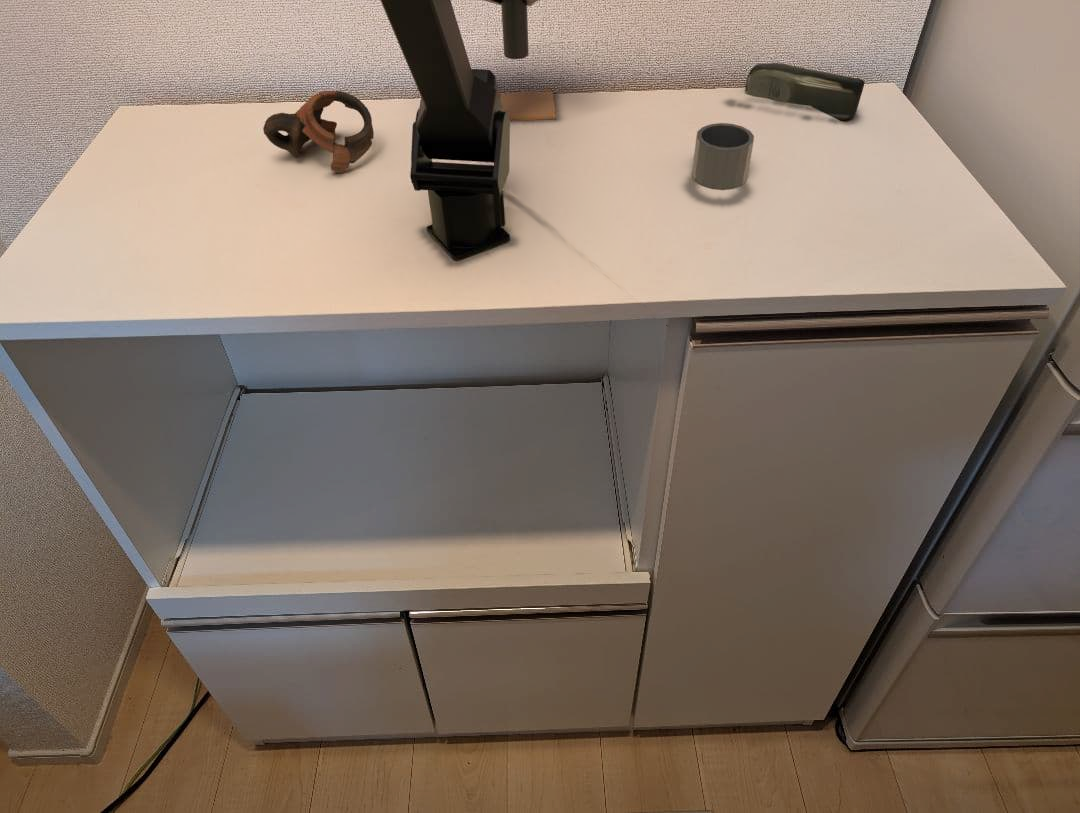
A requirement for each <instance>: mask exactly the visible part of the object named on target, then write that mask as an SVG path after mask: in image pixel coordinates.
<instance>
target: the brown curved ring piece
mask: <svg viewBox="0 0 1080 813" xmlns="http://www.w3.org/2000/svg"><path fill="white" fill-rule="evenodd" d="M334 102H338V103H341V104H343V105H344V107H345V108H348V109H351V110H354V111H357V112H358V113H359V114H360V116H361V118H362V120H363V127H362V128H361V130H360V131H358V132H357V133H355V134H353V135H348V136H346V135H345V136H344V144H341V143H340V144H339V143H338V142H337V143H336V141H335V137H336V128H337V126H338V123H337V122H336V121H332V120H327V119H323V118H322V114H323V111H324V109H325V108H327V107H329V106H331V104H333V103H334ZM262 128H263V129H262V130H263V134H264V135H265V136H266V138H267V140H268V141H269V142H270V143H271V144H273V145H274V146H275V147H277V148H278V149H282V150H285V151H287V152H288V153H289V154H290V155H291V156H292V157H293V158H295V159H298V158H299V157H300V153H301V151H302V149H303V148H304V145H305V144H306V143H308V142H309V141H310V140H311V141H312V142H314V143H315V144H316V145H318V146H319V147H320V148H322V149H323V150H325V151H327V152H328V153H330V154H332V162H331V164H330V169H331V171H332V172H335V173H340V174H343V173H346V171H347V170H348V169H349V168H350V164H351V165H352V164H354V163H356V162H357V161H359V160H360V159H361V158H362V157H363V156H364V155H365V154H366V153H367V152H368V151H370V148H371V147H372V145H373V141H372V140H373V139H374V137H375V136H374V135H375V134H374V132H375V131H374V128H373V119H372V114H371V112H370V110H369V108H368V107H367V106H366V105H365V104H364V103H363V101H361V100H360V99H359V98H358V97H356V96H355V95H353V94H350V93H348V92H345V91H340V90H324V91H319V92H318V93H315V94H313V95H312V96H311V97H310V98H309V99H308V100H307V101H306V102H305V103H304V104H303V105H301V106H300V108H299V109H298V110H296V111H295V113H287V112H286V113H285V112H278V113H274V114H272V115H270V116H268V117H267V119H266V120H265V122H264V124H263V127H262ZM281 132H285V133H287V134H286V135H284V134H283V133H281Z"/></svg>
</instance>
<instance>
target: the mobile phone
mask: <svg viewBox="0 0 1080 813" xmlns="http://www.w3.org/2000/svg"><path fill="white" fill-rule="evenodd" d="M748 72H749V73H748V75H747V77H746V82H745V90H744V94H745V95H747V96H750V97H754V98H762V99H767V100H771V101H774V102H778V103H784V104H792V105H800V106H807V107H811V108H813V109H815V110H817V111H819V112H821V113H823V114H825V115H828V116H830V117H831V118H833V119H835V120H837V121H845V120H846V121H847V120H851V119H853V118H854V117H855V116H856V114H857V112H858V108H859V104H860V102H861V98H862V94H863V90H864V87H865V83H866V82H865V80H864V79H861V78H858V77H852V76H846V75H841V74H838V73H837V74H836V73H832V72H827V71H821V70H816V69H811V68H810V69H809V68H806V67H802V66H796V65H791V64H787V63H781V62H771V63H757V64H755V65H753V66H752V68H751V69H750V71H748Z"/></svg>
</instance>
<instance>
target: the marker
mask: <svg viewBox="0 0 1080 813" xmlns="http://www.w3.org/2000/svg"><path fill="white" fill-rule="evenodd" d="M500 6H501V26H502V27H501V28H502V40H503V41H502V42H503V44H502V46H503V56H504V57H505V58H507V59H510V60H522V59H525V58H527V57H528V56H529V53H530V52H529V48H530V47H529V22H528V21H529V20H528V6H527V5H526V3H525V0H501V5H500Z"/></svg>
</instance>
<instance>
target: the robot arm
mask: <svg viewBox="0 0 1080 813" xmlns="http://www.w3.org/2000/svg"><path fill="white" fill-rule="evenodd" d="M379 1H380V3H381V5H382V8H383V10H384V13H385V15H386V18H387V19H388V22H389V24H390V27H391V29H392V32H393V33H394V36H395V39H396V41H397V43H398V46H399V47H400V50H401V53H402V55H403V57H404V60H405V62H406V64H407V68H408V69H409V71H410V73H411V76H412V78H413V81H414V84H415V86H416V88H417V91H418V93H419V95H420V102H419V108H418V109H417V111H416V114H415V120H414V122H412V130H411V132H412V133H411V150H410V172H409V173H410V176H409V178H410V182H411V184H412V187H413V189H414V191H417V192H418V191H419V192H420V191H427V195H428V203H429V209H430V218H431V224H429V225H427V226H426V233H427V234H428V235H429V236H431V238H432V239H433V240H434V241H435V242H436V243H437V244H438V245H439V246H440V247H441V249H443V250H444V252H445V253H446V254H447V255H448V256H449V257H450V258H451V259H453V260H454V261H457V260H458V261H459V260H461V259H464V258H467V257H469V256H472V255H475V254H478V253H480V252H483V251H486V250H488V249H491V248H494V247H496V246H499V245H502V244H504V243H507V242H509V241H511V234H510V233H509V232H508V231H507V230H506V229H504V228H503V227H505V225H506V212H505V211H506V210H505V195H504V193H505V192H504V188H505V185H506V182H507V179H508V177H509V174H510V153H511V152H510V149H511V146H510V143H511V142H510V140H511V121H510V120H509V114H508V112H506V111H504V110H503V105H502V102H501V100H500V99H501V94H502V93H500V91H499V88H498V84H497V78H496V75H495V74H494V72H493V71H492V70H491V69H480V68H472V66H471V63H470V60H469V56H468V52H467V49H466V47H465V44H464V40H463V36H462V33H461V30H460V27H459V23H458V20H457V17H456V13H455V10H454V7H453V4H452V0H379ZM482 1H484V2H488V3H492V4H495V5H498V6H501V0H482ZM537 2H539V0H525V3H526V5H527V7H532V6H533V5H534V4H535V3H537ZM433 160H443V161H459V162H460V161H461V162H476V163H478V164H476V163H459V162H442V161H433ZM479 163H492V164H479Z"/></svg>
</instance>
